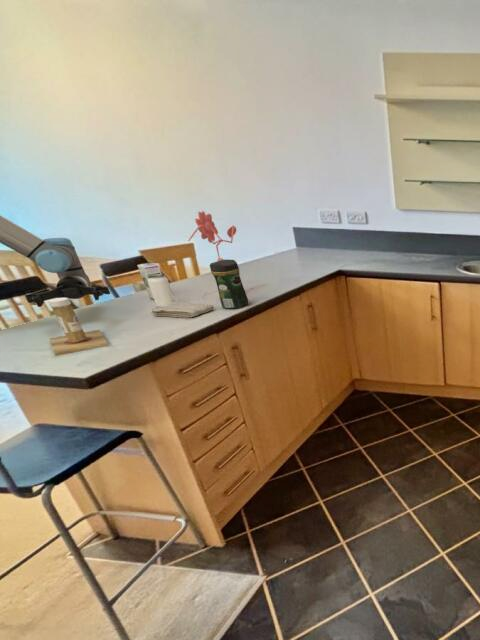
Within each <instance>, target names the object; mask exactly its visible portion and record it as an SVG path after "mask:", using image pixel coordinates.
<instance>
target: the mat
mask: <svg viewBox="0 0 480 640" xmlns="http://www.w3.org/2000/svg"><path fill="white" fill-rule="evenodd" d="M84 333H85V335H86V337H87V339H86V340H84V341H80V342H73V343H72V342H68V339H67V337H66V335H61V336H57V337H56V336H55V337H50V338H49V343H50V345H51V348H52V351H53V354H54V356H56V357H57V356H61V355H67V354H72V353H78V352H82V351H87V350H88V351H89V350H93V349H97V348H102V347H107V346H108V347H109V343H108V341H107V340H106V338H105V337H104V335H103V334H102V332H101V330H100V329H97V330H96V329H95V330H89V331H85V332H84Z"/></svg>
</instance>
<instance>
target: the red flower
mask: <svg viewBox="0 0 480 640" xmlns="http://www.w3.org/2000/svg"><path fill="white" fill-rule="evenodd" d="M197 215H198V218H195V219H194V220H195V221H194V222H195V223H196V225H197V228H196V229H195V230H194V231H193V233H192V234H191V236H190V237H189V239H188V240H187V241H188V242H190V241H191V239H192V238H193V237H194V236H195V234H196V233H197V231H198V232H200V233H201V234H200V237H201V239H202V240H206V239H207V242H209V243H210V244H211V243H212V245H215V249H216V252H217V257H218V259H217V260H216V262H217V261H221V260H225V259H224V258H222V257H220V253H219V247H218V246H219V245H221V243H223V242H225V243H229V244H232V243H233V239H234V236H235V235H236V233H237V227H236V226H235V225H232V226H230V227H229V228H228V229H227V230H226V233H227V236H228V237H229V238H230V240H225V239H222V238H221V237H220V236H219V235H218V234H219V231H218V229H217V226H216V225H215V222H214V221H213V216H212V214H211V213H207V214H206V212H205V211H204V210H202V211H197ZM216 237H217V238H218V240H216ZM251 289H254V288H252V287H251V288H250V290H251ZM216 292H217V293H218V290H216V291H212V292H211V294H212V293H216ZM208 294H210V292H209V293H207V294H206V293H205V294H204V295H203V297H205V296H207V295H208ZM219 299H220V296H219ZM203 300H204V301H205V300H206V299H205V298H203Z"/></svg>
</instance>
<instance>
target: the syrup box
mask: <svg viewBox="0 0 480 640" xmlns="http://www.w3.org/2000/svg"><path fill="white" fill-rule="evenodd" d="M137 268H138V271H139V273H140V276H141V278H142V281H143V284H144V286H145V289H146V291H147V293H148V296H149V298H150V299H152V300H154V297H153V295H152V292H151V290H150V287H149V284H148V278H147V277H148V276H152V275H163V273H162V270H161V268H160V265H159V264H158V263H153V262H145V263H140V264H137Z"/></svg>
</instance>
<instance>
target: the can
mask: <svg viewBox="0 0 480 640" xmlns="http://www.w3.org/2000/svg"><path fill="white" fill-rule="evenodd" d="M147 278H148V284H149V287H150V290H151V292H152V295H153V297H154V299H153V300H154V302H155V305H156V307H160V306H166V305H169V304H171V303H174V302H177V301H176V299H175V296H174V293H173V290H172V287H171V284H170V282H169V279H168V278H167V277H166V274H162V275H152V276H148V277H147Z"/></svg>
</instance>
